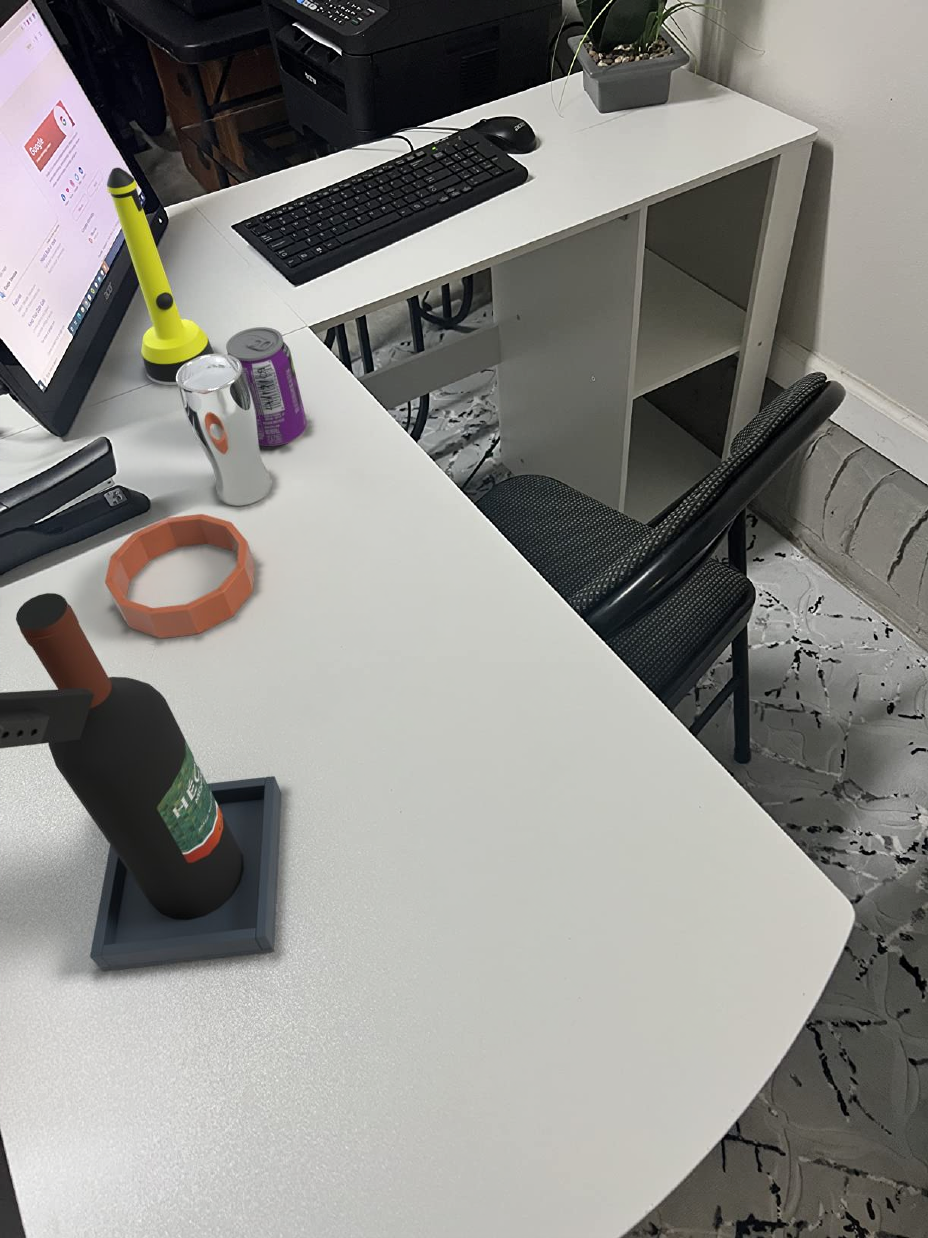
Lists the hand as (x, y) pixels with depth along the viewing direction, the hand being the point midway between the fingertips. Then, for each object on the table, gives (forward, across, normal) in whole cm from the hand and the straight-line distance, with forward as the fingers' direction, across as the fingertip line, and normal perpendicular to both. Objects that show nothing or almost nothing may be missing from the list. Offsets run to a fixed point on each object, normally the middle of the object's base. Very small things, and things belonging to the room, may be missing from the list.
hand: (5, 662), depth 55 cm
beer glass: (+47, -27, +8) cm, 55 cm away
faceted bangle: (+37, -22, -2) cm, 43 cm away
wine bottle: (+20, +3, -17) cm, 27 cm away
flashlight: (+57, -52, +18) cm, 79 cm away
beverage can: (+54, -31, +15) cm, 64 cm away
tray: (+21, +3, -18) cm, 27 cm away
